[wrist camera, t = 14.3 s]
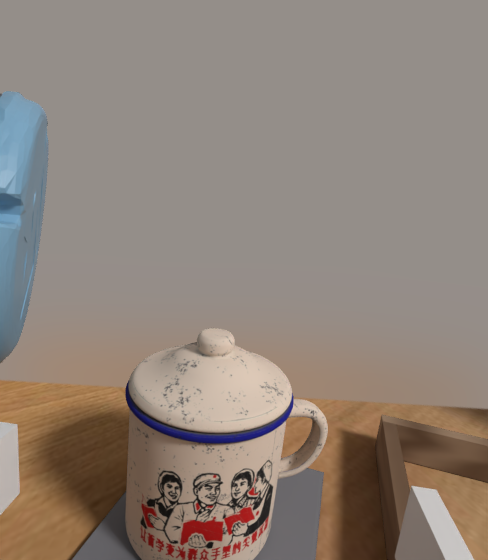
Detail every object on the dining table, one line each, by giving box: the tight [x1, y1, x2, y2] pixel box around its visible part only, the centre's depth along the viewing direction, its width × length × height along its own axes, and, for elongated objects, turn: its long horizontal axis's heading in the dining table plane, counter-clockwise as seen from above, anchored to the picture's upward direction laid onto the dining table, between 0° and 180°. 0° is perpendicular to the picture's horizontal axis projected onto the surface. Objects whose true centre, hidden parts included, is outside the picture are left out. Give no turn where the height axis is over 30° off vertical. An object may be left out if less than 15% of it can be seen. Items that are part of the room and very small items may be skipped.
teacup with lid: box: [125, 328, 328, 560], centre depth 22 cm, size 12×9×12 cm
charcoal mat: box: [72, 468, 324, 560], centre depth 23 cm, size 12×12×1 cm
